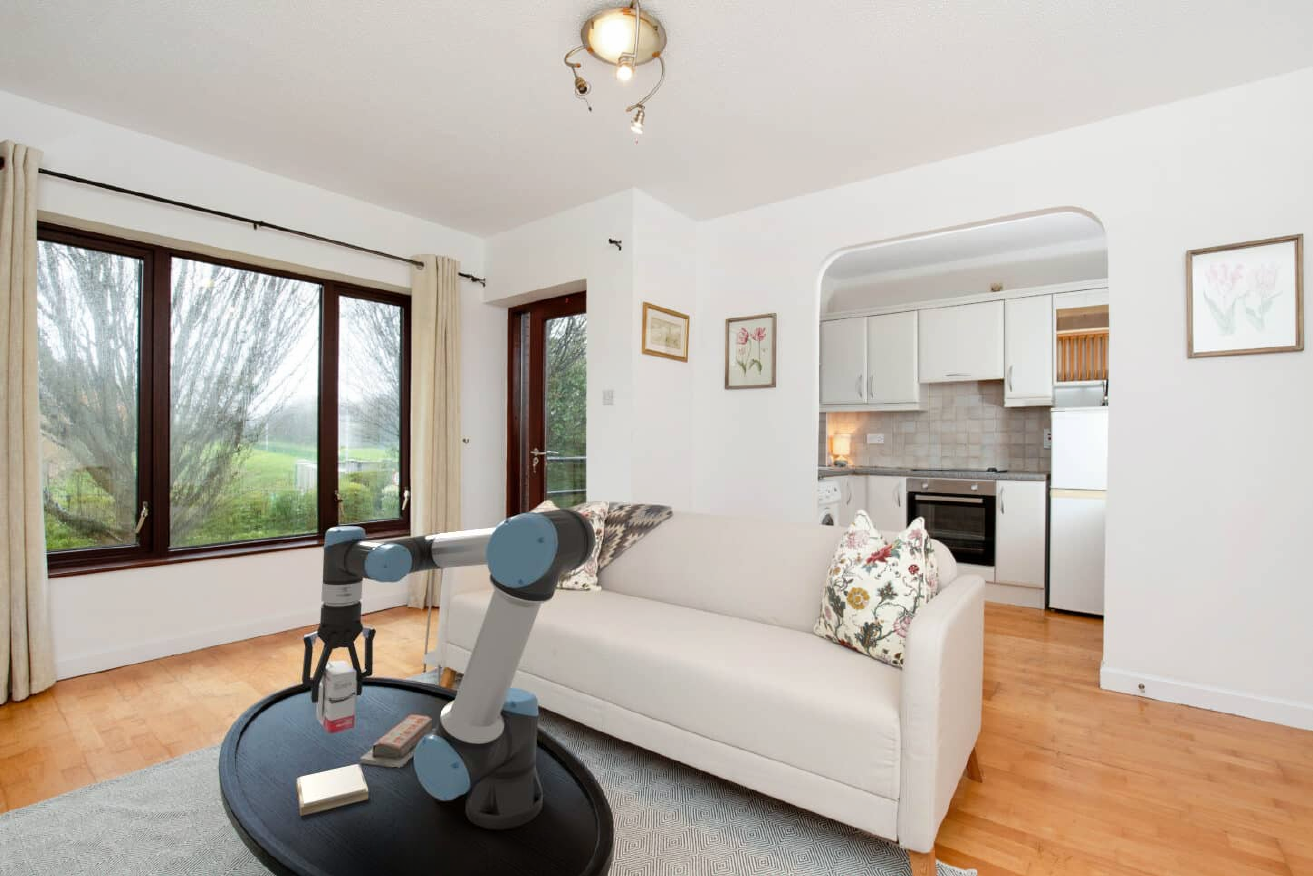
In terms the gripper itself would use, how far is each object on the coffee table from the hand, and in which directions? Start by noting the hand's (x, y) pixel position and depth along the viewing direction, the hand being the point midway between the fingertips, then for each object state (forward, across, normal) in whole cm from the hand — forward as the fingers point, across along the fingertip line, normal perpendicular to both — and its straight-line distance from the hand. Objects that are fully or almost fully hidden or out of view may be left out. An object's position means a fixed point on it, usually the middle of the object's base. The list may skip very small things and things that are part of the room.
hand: (335, 713), depth 129 cm
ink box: (+2, 0, 0) cm, 2 cm away
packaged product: (+17, +16, +13) cm, 27 cm away
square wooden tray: (+16, 0, 0) cm, 16 cm away
